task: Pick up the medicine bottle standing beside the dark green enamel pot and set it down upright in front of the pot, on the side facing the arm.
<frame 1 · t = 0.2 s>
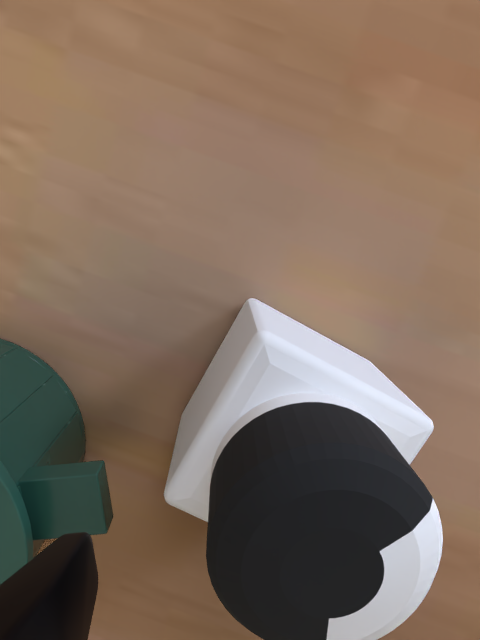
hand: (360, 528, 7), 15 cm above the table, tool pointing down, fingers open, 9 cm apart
medicine bottle: (275, 388, 23), on the table
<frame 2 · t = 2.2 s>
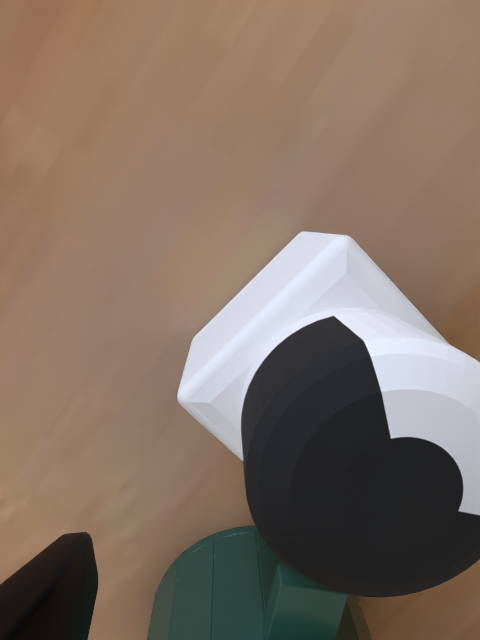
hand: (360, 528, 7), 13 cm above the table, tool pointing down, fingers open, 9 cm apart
medicine bottle: (298, 338, 21), on the table
pot: (254, 614, 24), on the table
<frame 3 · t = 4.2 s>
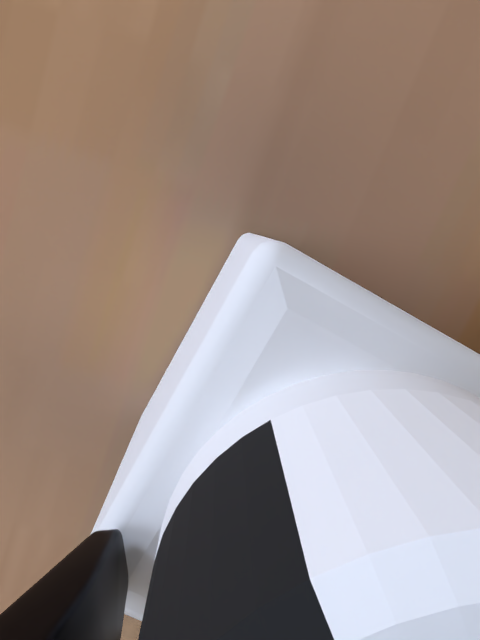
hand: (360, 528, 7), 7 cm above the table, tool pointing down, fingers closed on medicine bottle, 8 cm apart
medicine bottle: (284, 377, 15), on the table, touching gripper
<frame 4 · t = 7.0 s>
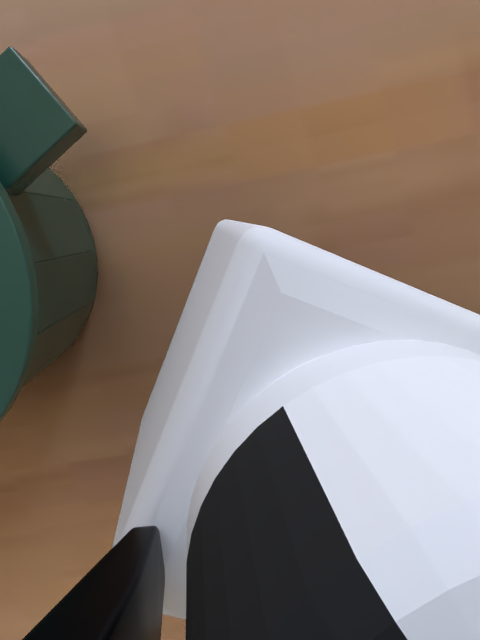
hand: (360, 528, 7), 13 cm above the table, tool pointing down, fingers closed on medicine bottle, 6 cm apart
medicine bottle: (279, 358, 15), point 5 cm above the table, touching gripper
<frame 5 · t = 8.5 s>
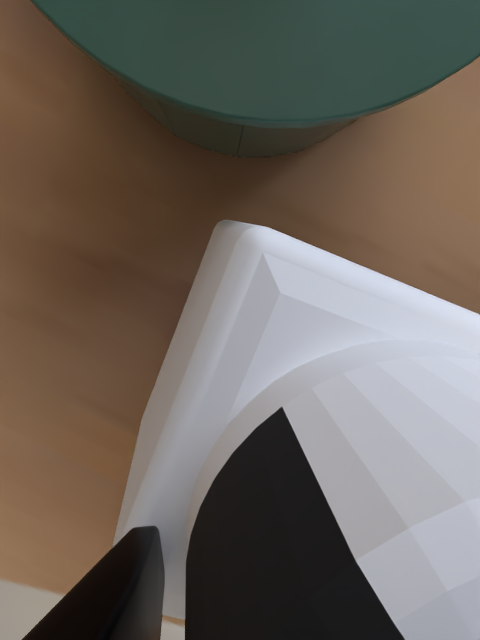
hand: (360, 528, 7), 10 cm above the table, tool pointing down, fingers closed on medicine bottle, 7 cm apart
medicine bottle: (279, 358, 15), point 2 cm above the table, touching gripper
when the fingers open (8 cm above the table, at t = 9.7 s): medicine bottle stays where it is, on the table.
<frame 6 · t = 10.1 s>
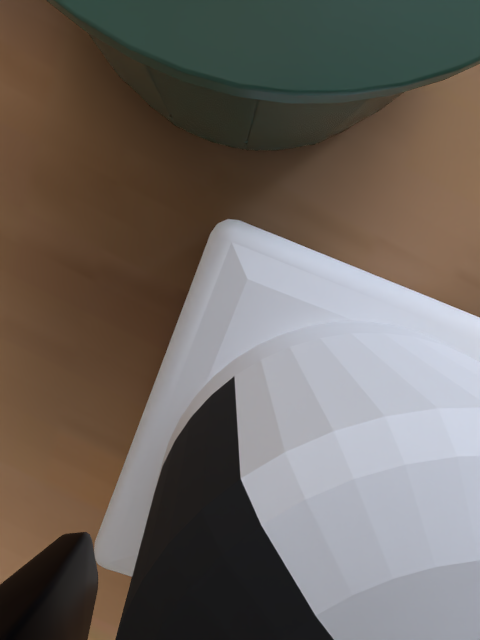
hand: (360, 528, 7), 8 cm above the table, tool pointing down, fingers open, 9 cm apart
medicine bottle: (281, 356, 15), on the table
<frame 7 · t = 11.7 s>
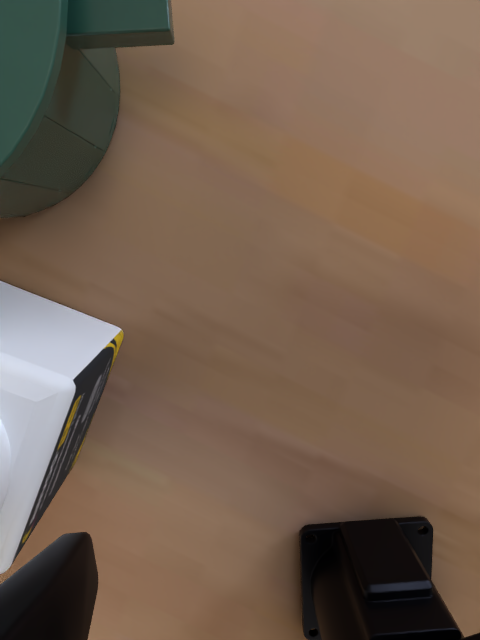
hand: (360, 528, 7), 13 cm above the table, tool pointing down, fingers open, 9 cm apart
medicine bottle: (27, 368, 20), on the table
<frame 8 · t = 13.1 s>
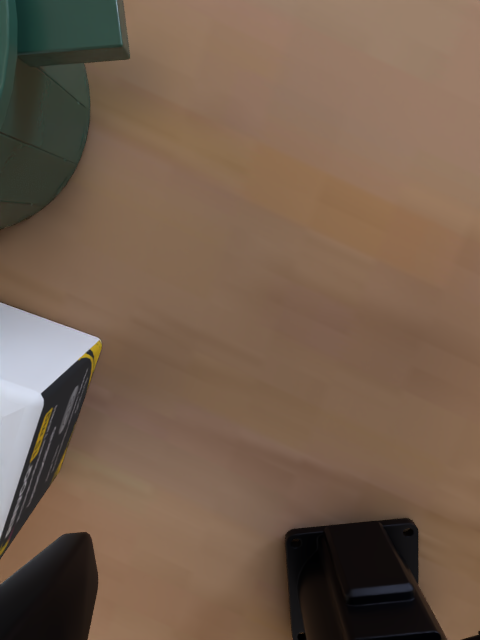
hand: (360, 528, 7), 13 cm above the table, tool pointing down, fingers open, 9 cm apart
medicine bottle: (7, 380, 20), on the table
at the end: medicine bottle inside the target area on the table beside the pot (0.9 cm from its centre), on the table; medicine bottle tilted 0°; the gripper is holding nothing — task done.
